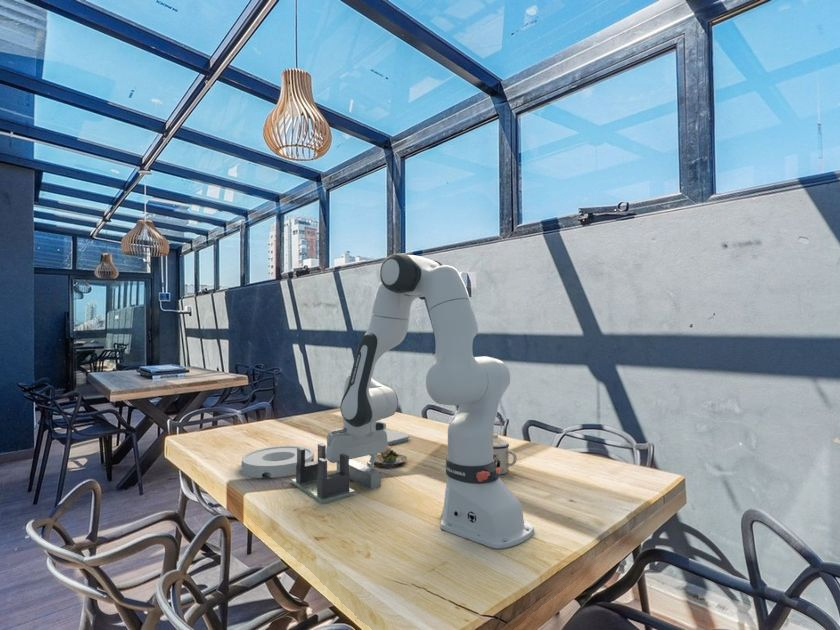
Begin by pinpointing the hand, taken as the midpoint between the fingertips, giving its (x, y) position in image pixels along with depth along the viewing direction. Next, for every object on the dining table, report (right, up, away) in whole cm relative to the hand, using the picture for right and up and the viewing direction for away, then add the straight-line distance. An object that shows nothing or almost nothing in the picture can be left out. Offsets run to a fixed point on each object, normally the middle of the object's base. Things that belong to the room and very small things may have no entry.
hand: (357, 471), depth 131 cm
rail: (0, -3, 0) cm, 3 cm away
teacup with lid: (+45, -3, +7) cm, 45 cm away
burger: (+9, -3, +16) cm, 19 cm away
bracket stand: (-9, -2, -8) cm, 12 cm away
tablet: (+1, -4, +42) cm, 42 cm away
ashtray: (-28, -3, +12) cm, 31 cm away
